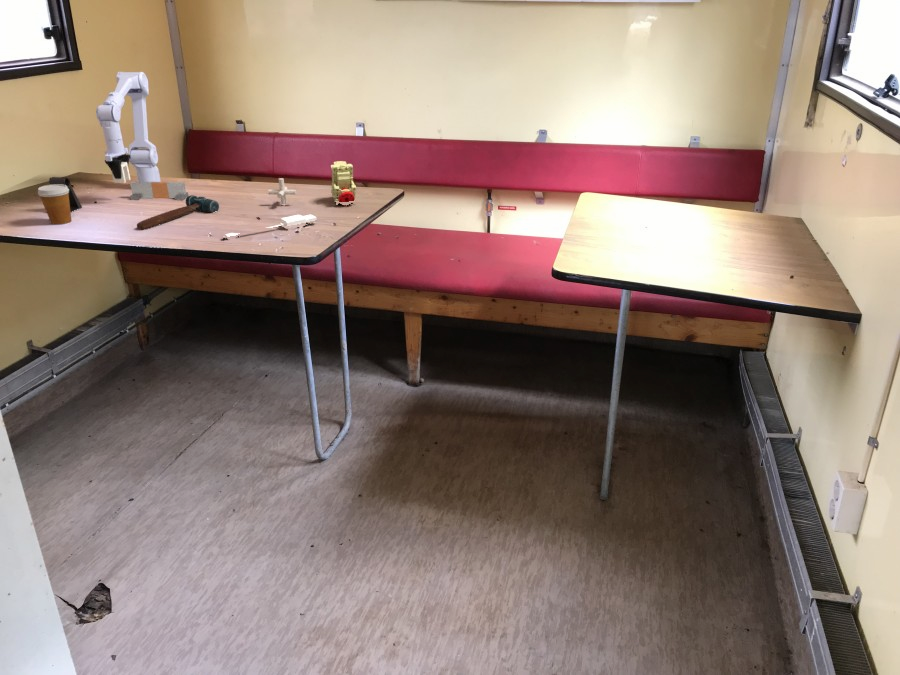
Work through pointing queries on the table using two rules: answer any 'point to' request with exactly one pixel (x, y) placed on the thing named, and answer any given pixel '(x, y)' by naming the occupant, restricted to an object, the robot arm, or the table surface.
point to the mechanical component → (343, 182)
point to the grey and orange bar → (158, 190)
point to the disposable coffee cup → (56, 202)
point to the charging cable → (288, 221)
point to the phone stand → (72, 196)
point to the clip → (123, 174)
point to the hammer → (181, 211)
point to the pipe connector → (282, 191)
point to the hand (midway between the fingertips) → (121, 176)
